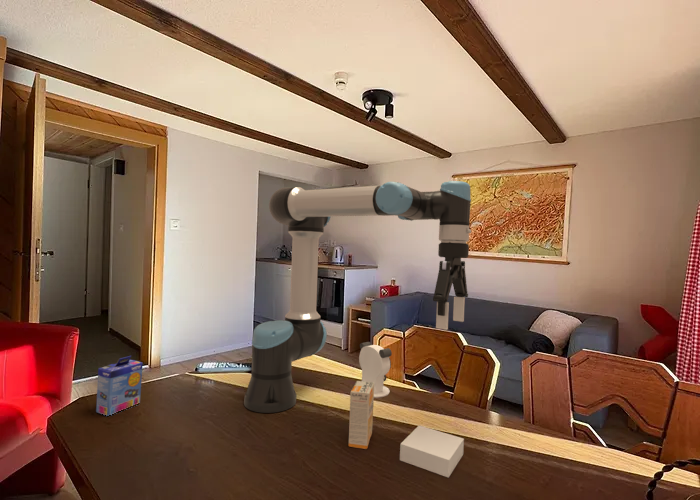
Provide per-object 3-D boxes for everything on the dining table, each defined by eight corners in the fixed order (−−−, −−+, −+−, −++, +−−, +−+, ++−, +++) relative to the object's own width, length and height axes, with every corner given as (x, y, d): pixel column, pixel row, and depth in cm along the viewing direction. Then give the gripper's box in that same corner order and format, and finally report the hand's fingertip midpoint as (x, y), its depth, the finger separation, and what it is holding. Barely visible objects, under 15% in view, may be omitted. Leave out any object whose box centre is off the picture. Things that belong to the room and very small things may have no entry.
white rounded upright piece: (398, 393, 123) (399, 347, 123) (373, 401, 116) (374, 352, 116) (372, 382, 132) (374, 339, 132) (348, 389, 125) (349, 344, 125)
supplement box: (368, 450, 87) (370, 393, 87) (347, 447, 88) (349, 391, 88) (373, 433, 95) (375, 381, 95) (354, 430, 96) (356, 379, 96)
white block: (399, 461, 84) (400, 443, 84) (418, 441, 93) (419, 425, 93) (448, 479, 78) (449, 460, 78) (463, 455, 87) (463, 438, 87)
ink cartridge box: (108, 417, 99) (110, 362, 99) (94, 413, 101) (96, 359, 101) (142, 403, 108) (144, 353, 108) (128, 400, 110) (130, 350, 110)
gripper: (453, 240, 85) (449, 335, 85) (480, 244, 106) (477, 319, 106) (421, 240, 89) (418, 330, 89) (454, 243, 110) (451, 316, 110)
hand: (450, 324), depth 97 cm, fingers open, 13 cm apart
